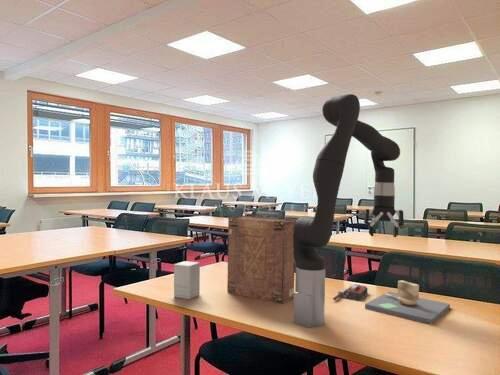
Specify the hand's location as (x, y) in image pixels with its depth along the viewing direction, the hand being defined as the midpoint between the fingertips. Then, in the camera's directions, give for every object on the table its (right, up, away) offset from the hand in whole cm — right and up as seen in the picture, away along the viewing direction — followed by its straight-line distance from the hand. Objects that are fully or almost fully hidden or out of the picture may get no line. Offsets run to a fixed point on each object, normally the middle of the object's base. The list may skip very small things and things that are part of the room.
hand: (383, 236), depth 144 cm
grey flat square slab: (+5, -24, -11) cm, 27 cm away
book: (-48, -23, +2) cm, 53 cm away
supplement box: (-76, -23, -1) cm, 79 cm away
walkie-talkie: (-12, -24, +1) cm, 27 cm away
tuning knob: (+3, -22, -8) cm, 24 cm away
